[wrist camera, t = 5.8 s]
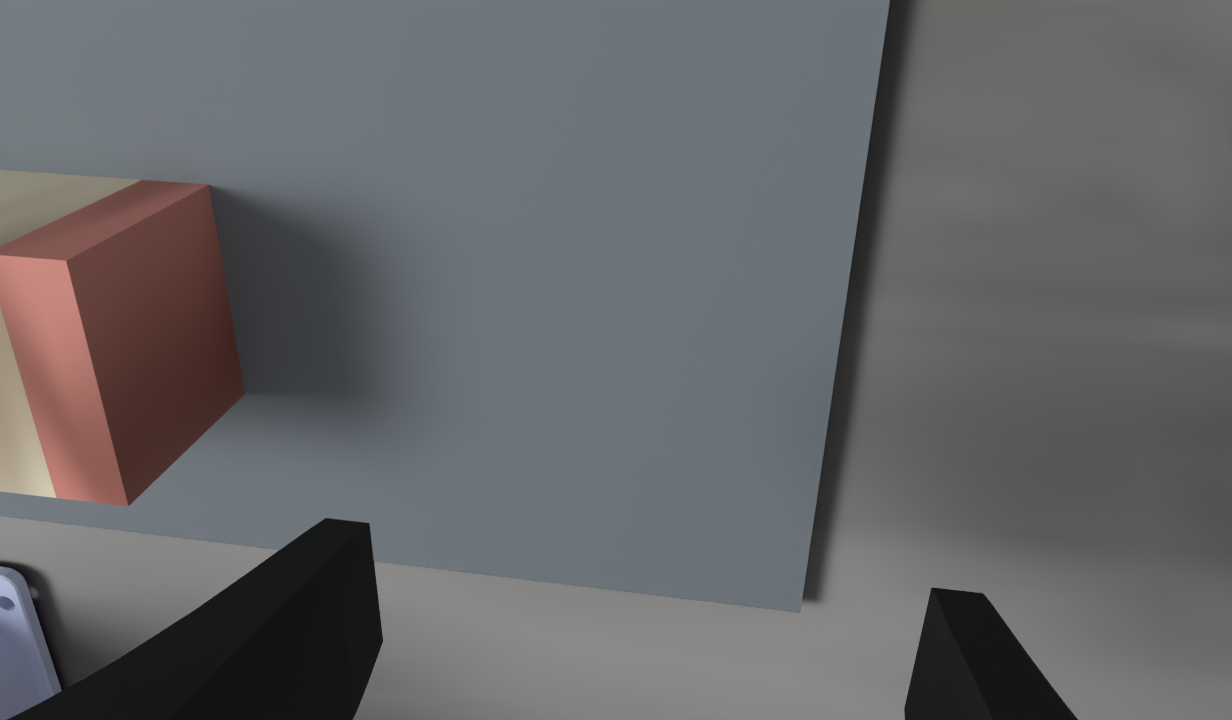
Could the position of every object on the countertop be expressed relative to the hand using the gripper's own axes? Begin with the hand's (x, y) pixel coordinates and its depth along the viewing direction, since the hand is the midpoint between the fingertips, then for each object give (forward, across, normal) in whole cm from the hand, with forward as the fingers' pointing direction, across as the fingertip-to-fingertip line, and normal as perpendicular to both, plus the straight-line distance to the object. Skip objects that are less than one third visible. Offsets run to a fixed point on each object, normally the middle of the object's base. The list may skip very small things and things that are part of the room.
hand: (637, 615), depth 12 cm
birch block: (+6, +10, 0) cm, 12 cm away
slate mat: (+9, +9, -1) cm, 13 cm away
